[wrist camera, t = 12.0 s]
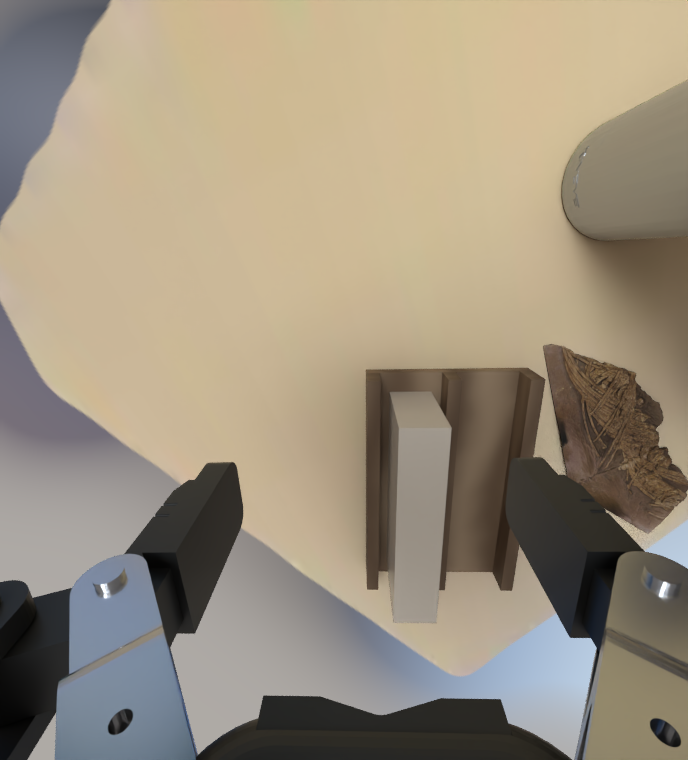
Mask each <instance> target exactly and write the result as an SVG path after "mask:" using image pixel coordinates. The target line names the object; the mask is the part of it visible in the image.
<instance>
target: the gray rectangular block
mask: <svg viewBox="0 0 688 760" xmlns="http://www.w3.org/2000/svg"><path fill="white" fill-rule="evenodd" d="M451 430H452V428H451V426H450V424H449V422H448V420H447V419H446V417H445V415H444V413H443V412H442V410H441V408H440V406H439V404H438V403H437V401H436V399H435V397H434V396H433V394H432V392H390V398H389V449H388V499H387V550H386V559H387V568H388V578H389V587H390V597H391V606H392V616H393V623H436V622H437V609H438V596H439V584H440V571H441V558H442V545H443V532H444V520H445V507H446V494H447V481H448V468H449V456H450V443H451Z"/></svg>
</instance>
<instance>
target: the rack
mask: <svg viewBox="0 0 688 760" xmlns="http://www.w3.org/2000/svg"><path fill="white" fill-rule="evenodd" d="M544 385H545V379H544V378H542V377H541V376H539V375H538V374H536V373H535V372H533V371H532V370H530V369H529V368H484V369H394V370H366V571H367V589H371V590H378V571H388V568H387V559H386V550H387V499H388V449H389V398H390V392H432V394H433V396H434V397H435V399H436V401H437V403H438V404H439V406H440V408H441V410H442V412H443V413H444V415H445V417H446V419H447V420H448V422H449V424H450V426H451V428H452V430H451V443H450V456H449V468H448V481H447V494H446V507H445V520H444V532H443V545H442V558H441V571H440V584H439V590H445V581H446V572H493V574H494V576H495V578H496V581H497V583H498V585H499V588H500V590H507V591H512V587H513V581H514V575H515V568H516V562H517V556H518V549H519V543H518V541H517V539H516V537H515V535H514V534H513V532H512V530H511V528H510V526H509V523H508V520H507V516H506V495H507V486H508V477H509V468H510V463H511V460H512V459H513V458H530V457H533V455H534V448H535V442H536V436H537V429H538V423H539V417H540V410H541V404H542V398H543V391H544Z"/></svg>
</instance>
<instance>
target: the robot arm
mask: <svg viewBox="0 0 688 760" xmlns="http://www.w3.org/2000/svg"><path fill="white" fill-rule="evenodd" d="M562 199H563V206H564V209H565V212H566V214H567V217H568V219H569V220H570V222H571V223H572V224H573V226H574V227H575V228H576V229H577V230H578V231H580V232H581V233H582V234H584V235H586V236H588V237H590V238H592V239H597V240H602V241H608V240H630V239H653V238H671V237H688V80H686V81H684V82H682V83H680V84H678V85H676V86H674V87H673V88H671V89H669V90H667V91H665V92H663V93H661V94H659V95H657V96H655V97H654V98H652V99H650V100H648V101H646V102H644V103H642V104H640V105H638V106H636V107H634V108H632V109H631V110H629V111H627V112H625V113H623V114H621V115H619V116H617V117H616V118H614V119H612V120H610V121H608V122H606V123H604V124H602V125H601V126H599V127H598V128H597V129H595V130H594V131H593V132H591V133H590V134H589V135H588V136H587V137H586V138H585V139H584V140H583V141H582V142H581V143H580V144H579V146H578V147H577V149H576V150H575V152H574V153H573V155H572V156H571V159H570V161H569V163H568V166H567V168H566V171H565V175H564V179H563V184H562ZM506 516H507V520H508V523H509V526H510V528H511V530H512V532H513V534H514V535H515V537H516V539H517V541H518V543H519V545H520V547H521V548H522V550H523V552H524V554H525V556H526V558H527V559H528V561H529V563H530V565H531V567H532V569H533V570H534V572H535V574H536V576H537V578H538V580H539V582H540V583H541V585H542V587H543V589H544V591H545V593H546V594H547V596H548V598H549V600H550V602H551V604H552V605H553V607H554V609H555V611H556V613H557V615H558V616H559V618H560V620H561V622H562V624H563V626H564V628H565V629H566V631H567V633H568V635H569V636H570V637H571V638H591V639H592V640H593V642H594V644H595V646H596V647H597V650H596V653H595V657H594V662H593V668H592V673H591V679H590V683H589V688H588V694H587V699H586V704H585V710H584V715H583V720H582V725H581V730H580V736H579V740H578V745H577V750H576V754H575V759H574V760H688V569H687V568H685V567H684V566H682V565H680V564H678V563H676V562H675V561H673V560H670V559H668V558H666V557H663V556H660V555H657V554H653V553H649V552H645V551H644V550H643V549H642V548H641V547H640V546H639V545H638V544H637V543H636V542H635V541H634V540H633V539H632V538H631V537H630V536H629V534H628V533H627V532H626V531H625V530H624V529H623V528H622V527H621V526H620V525H619V524H618V523H617V522H616V521H615V520H614V519H613V518H612V517H611V515H610V514H609V513H606V511H605V509H604V508H603V507H602V506H601V505H600V504H599V503H598V502H595V499H594V498H593V496H592V495H591V494H590V493H589V492H588V491H587V490H586V489H585V488H584V487H583V486H582V485H580V484H578V483H577V482H575V481H573V480H572V479H570V478H568V477H567V476H565V475H558V474H557V473H556V472H555V471H554V470H553V469H552V467H551V466H550V465H549V464H548V463H547V462H546V461H545V460H544V459H543V458H541V457H530V458H513V459H512V460H511V463H510V468H509V477H508V486H507V495H506ZM242 520H243V503H242V497H241V491H240V484H239V478H238V472H237V467H236V465H235V463H233V462H223V463H207V464H206V465H205V467H204V468H203V469H202V471H201V472H200V473H199V475H198V476H197V478H196V479H195V480H188V481H187V482H185V483H184V484H183V485H181V486H180V487H179V488H177V489H176V490H174V491H173V492H172V494H171V495H170V496H169V498H168V499H167V500H166V501H165V503H164V506H161V508H160V509H159V510H158V511H157V513H156V515H155V517H153V518H152V519H151V520H150V522H149V523H148V524H147V526H146V527H145V528H144V529H143V531H142V532H141V533H140V535H139V536H138V537H137V538H136V540H135V541H134V542H133V544H132V545H131V546H130V548H129V549H128V550H127V551H126V553H125V554H123V555H118V556H114V557H111V558H108V559H106V560H104V561H102V562H100V563H98V564H96V565H95V566H93V567H92V568H90V569H89V570H88V571H87V572H85V573H84V574H83V575H82V576H81V577H80V578H79V579H78V580H77V581H76V583H75V584H74V586H73V587H72V588H70V589H66V590H63V591H59V592H54V593H50V594H47V595H43V596H39V597H34V598H32V596H31V593H30V591H29V589H28V586H27V585H26V584H25V583H24V582H22V581H16V580H14V581H13V580H12V581H4V582H0V760H27V759H28V757H29V756H30V754H31V752H32V751H33V749H34V748H35V745H36V744H37V743H38V741H39V739H40V738H41V736H42V734H43V733H44V731H45V730H46V728H47V726H48V725H49V723H50V721H51V720H52V718H53V716H54V715H55V713H56V740H55V760H572V759H570V758H569V757H568V756H567V755H566V754H564V753H563V752H561V751H560V750H558V749H557V748H556V747H554V746H553V745H552V744H550V743H549V742H547V741H545V740H543V739H541V738H540V737H538V736H536V735H535V734H533V733H531V732H529V731H526V730H524V729H522V728H519V727H517V726H514V725H511V724H508V721H507V718H506V715H505V712H504V708H503V705H502V702H501V700H500V699H444V698H441V699H437V700H434V701H431V702H427V703H424V704H421V705H417V706H414V707H411V708H407V709H404V710H401V711H397V712H394V713H391V714H387V715H375V714H372V713H369V712H366V711H363V710H360V709H356V708H354V707H351V706H347V705H344V704H341V703H338V702H335V701H332V700H329V699H326V698H323V697H313V696H311V697H310V696H263V700H262V705H261V709H260V714H259V718H258V719H255V720H252V721H249V722H247V723H245V724H242V725H240V726H238V727H236V728H234V729H232V730H231V731H229V732H227V733H226V734H224V735H222V736H221V737H219V738H218V739H217V740H215V741H214V742H213V743H212V744H210V745H209V746H207V747H206V748H205V749H204V750H203V751H202V752H201V753H200V754H199V755H198V753H197V750H196V746H195V742H194V738H193V734H192V731H191V727H190V723H189V719H188V715H187V711H186V707H185V703H184V699H183V696H182V692H181V688H180V684H179V680H178V676H177V672H176V668H175V664H174V661H173V657H172V653H171V649H170V647H171V645H172V642H173V640H174V638H175V636H176V634H177V633H195V632H196V630H197V628H198V625H199V623H200V621H201V618H202V616H203V613H204V611H205V609H206V607H207V604H208V602H209V600H210V597H211V595H212V593H213V591H214V588H215V586H216V584H217V581H218V579H219V577H220V574H221V572H222V570H223V568H224V565H225V563H226V561H227V558H228V556H229V554H230V551H231V549H232V546H233V545H234V542H235V540H236V537H237V535H238V533H239V531H240V528H241V525H242Z"/></svg>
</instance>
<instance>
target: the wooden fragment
mask: <svg viewBox="0 0 688 760" xmlns="http://www.w3.org/2000/svg"><path fill="white" fill-rule="evenodd" d="M543 348H544V354H545V360H546V365H547V369H548V374H549V380H550V385H551V391H552V395H553V402H554V406H555V411H556V416H557V421H558V426H559V430H560V435H561V441H562V448H563V453H564V459H565V464H566V468H567V469H566V470H567V476H568V478H570V479H572V480H573V481H575V482H577V483H578V484H580V485H582V486H583V487H584V488H585V489H586V490H587V491H588V492H589V493H590V494H591V495H592V496H593V498H594V499H595V502H598V503H599V504H600V505H601V506H602V507H603V508H605V509H607V510H608V511H610V512H612V513H614V514H615V515H616V516H619V517H620V518H622V519H624V520H626V521H627V522H629V523H631V524H632V525H634V526H635V527H637V528H639V529H641V530H643V531H644V532H646V533H647V534H649V533H650V532H651V531H652V530H653V529H654V528H655V527H656V526H658V525H659V524H660V523H661V522H662V521H663V520H664V519H665V518H666V517H667V516H668V515H669V514H670V513H671V511H672V510H673V509H674V506H677V505H678V504H679V503H681V501H684V499H685V498H686V496H687V494H686V491H687V490H688V481H687V479H686V477H685V476H684V475H683V474H682V472H681V470H680V469H679V468H678V467H677V466H675V465H673V464H672V461H671V460H672V459H671V458H670V456H669V455H668V449H667V447H665V448H659V447H658V442H659V434H658V432H657V431H656V428H657V427H658V426H659V425H660V424H661V423H662V421H663V415H662V410H661V408H660V404H659V403H658V402H655V401H654V400H652V398H651V397H650V396H649V395H647V394H646V392H645V391H642V390H641V387H640V386H639V385H638V384H637V383H636V381H635V377H636V373H634V372H631V371H628V370H626V369H624V368H618V367H616V366H614V365H612V364H608V363H605V362H604V363H600V362H598V361H597V360H594V359H591V358H588V357H585V356H581V355H578V354H574V352H573V351H571V350H570V349H567V348H565V347H564V346H558V345H553V344H550V345H544V346H543Z"/></svg>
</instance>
